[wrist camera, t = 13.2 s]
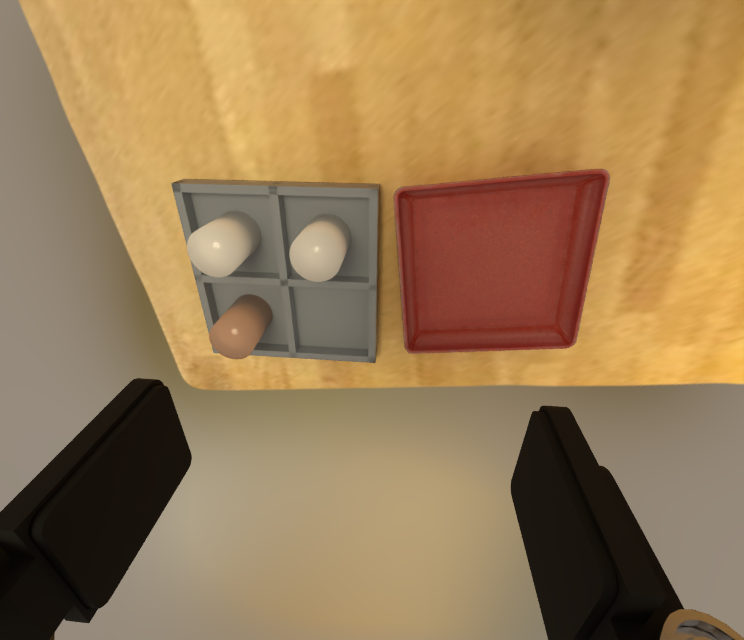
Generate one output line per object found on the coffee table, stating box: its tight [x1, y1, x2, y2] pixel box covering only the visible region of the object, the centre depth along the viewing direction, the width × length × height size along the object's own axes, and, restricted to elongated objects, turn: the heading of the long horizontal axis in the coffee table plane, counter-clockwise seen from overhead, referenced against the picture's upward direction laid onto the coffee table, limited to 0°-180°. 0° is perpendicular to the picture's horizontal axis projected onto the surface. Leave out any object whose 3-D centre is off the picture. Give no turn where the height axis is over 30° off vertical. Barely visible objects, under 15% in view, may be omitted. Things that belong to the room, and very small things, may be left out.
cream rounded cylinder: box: [289, 214, 351, 282], centre depth 35 cm, size 5×5×6 cm
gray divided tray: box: [171, 179, 380, 363], centre depth 40 cm, size 19×19×2 cm
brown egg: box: [209, 294, 273, 359], centre depth 41 cm, size 5×5×6 cm
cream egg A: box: [187, 211, 261, 277], centre depth 36 cm, size 5×5×6 cm
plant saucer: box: [394, 169, 610, 354], centre depth 38 cm, size 18×18×3 cm
